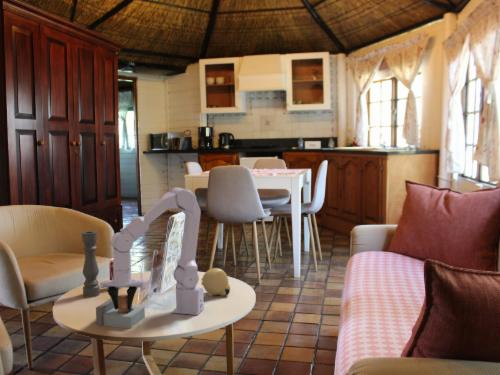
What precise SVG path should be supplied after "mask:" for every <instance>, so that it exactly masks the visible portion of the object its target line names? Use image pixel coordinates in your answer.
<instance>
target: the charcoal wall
mask: <svg viewBox="0 0 500 375" xmlns="http://www.w3.org/2000/svg"><path fill="white" fill-rule="evenodd" d="M113 308H114V304H113V301H112V299H111V298H109V299H107V301H104V302H103V303H101V304H100V305H98V306H96V307H95V320H96V326H98V327H102V326H103V314H105V313H106V312H108V311H109V310H111V309H113ZM103 327H104V326H103Z"/></svg>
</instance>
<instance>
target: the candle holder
mask: <svg viewBox="0 0 500 375" xmlns="http://www.w3.org/2000/svg"><path fill="white" fill-rule="evenodd" d="M81 241H82V243H83V245H84V246H83V248H82V250H83V251H84V258H85V259H84V264H83V268H82V276H83V277H84V282H83V287H82V294H83V295H82V296H83V297H85V298H94V297H97V296H99V295H100V294H101V293H100V292H101V291H100V289H101V288H100V282H99V280H98V279H97V278H98V275H99V272H100V269H99V267H98V262H97V258H96V250H97V248H98V246H96V245H97V241H98V232H97V231H95V230H87V231H82V232H81Z"/></svg>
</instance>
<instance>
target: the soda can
mask: <svg viewBox="0 0 500 375" xmlns="http://www.w3.org/2000/svg"><path fill="white" fill-rule="evenodd" d="M109 260H110V261H109V265H108V266H109V280H114V275H113V257H112V258H110V259H109ZM120 289H121V288H119V290H120Z"/></svg>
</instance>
